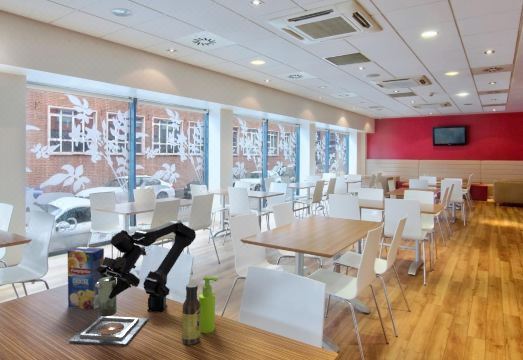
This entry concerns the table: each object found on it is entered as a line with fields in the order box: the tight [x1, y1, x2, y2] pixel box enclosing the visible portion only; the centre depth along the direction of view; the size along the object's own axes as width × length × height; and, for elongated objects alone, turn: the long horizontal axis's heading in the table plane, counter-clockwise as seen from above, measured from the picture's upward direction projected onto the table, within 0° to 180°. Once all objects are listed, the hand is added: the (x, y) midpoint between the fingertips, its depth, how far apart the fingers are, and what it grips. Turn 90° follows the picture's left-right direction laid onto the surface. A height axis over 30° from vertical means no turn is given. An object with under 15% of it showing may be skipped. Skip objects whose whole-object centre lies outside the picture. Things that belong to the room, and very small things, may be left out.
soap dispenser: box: [198, 276, 219, 334], centre depth 139 cm, size 6×7×20 cm
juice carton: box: [67, 246, 105, 311], centre depth 159 cm, size 12×8×24 cm, turn 79°
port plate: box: [68, 314, 149, 347], centre depth 137 cm, size 20×20×2 cm
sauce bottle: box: [181, 283, 201, 345], centre depth 131 cm, size 6×6×20 cm
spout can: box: [95, 277, 118, 317], centre depth 136 cm, size 8×6×13 cm
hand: (104, 296), depth 135 cm, fingers closed on spout can, 6 cm apart
